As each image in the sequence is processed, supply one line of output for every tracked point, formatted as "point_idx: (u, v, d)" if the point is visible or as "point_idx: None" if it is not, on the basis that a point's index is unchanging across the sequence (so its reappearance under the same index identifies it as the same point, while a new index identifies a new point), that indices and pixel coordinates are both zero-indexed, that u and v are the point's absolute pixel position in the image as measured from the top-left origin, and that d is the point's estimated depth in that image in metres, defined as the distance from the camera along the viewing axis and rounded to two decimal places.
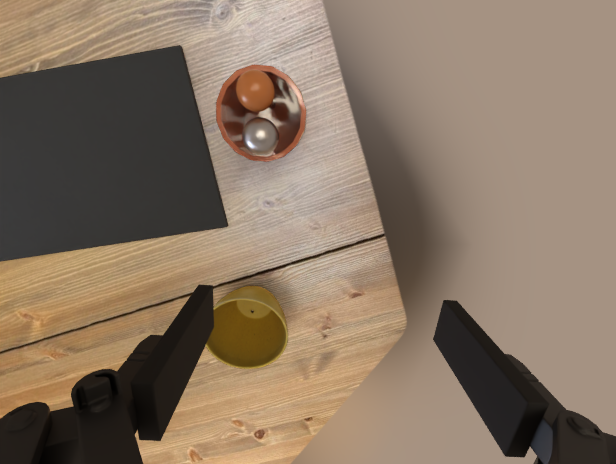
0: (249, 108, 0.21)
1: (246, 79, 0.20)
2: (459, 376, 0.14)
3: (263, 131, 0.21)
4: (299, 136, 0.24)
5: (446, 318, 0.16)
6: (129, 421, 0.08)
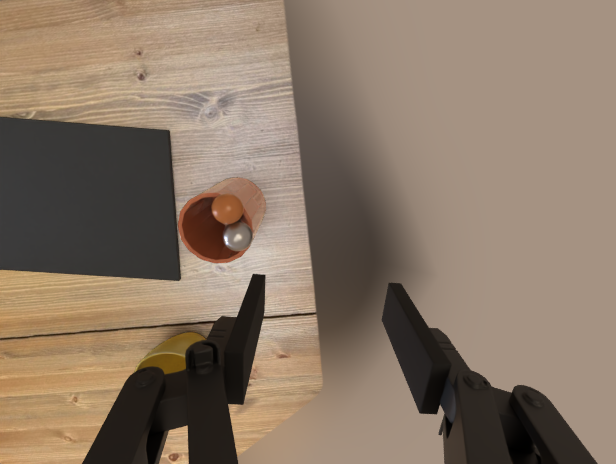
0: (220, 221, 0.26)
1: (222, 203, 0.25)
2: (395, 349, 0.16)
3: (243, 235, 0.26)
4: (244, 250, 0.29)
5: (389, 299, 0.17)
6: (224, 389, 0.10)
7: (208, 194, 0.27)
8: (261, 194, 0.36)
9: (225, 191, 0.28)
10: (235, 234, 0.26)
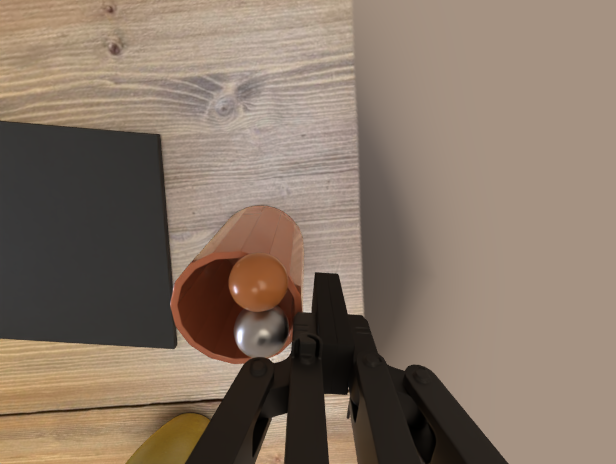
0: None
1: (251, 277, 0.12)
2: None
3: (273, 336, 0.14)
4: (285, 345, 0.17)
5: None
6: (322, 383, 0.10)
7: (226, 254, 0.15)
8: (299, 231, 0.24)
9: (254, 244, 0.16)
10: (257, 334, 0.13)
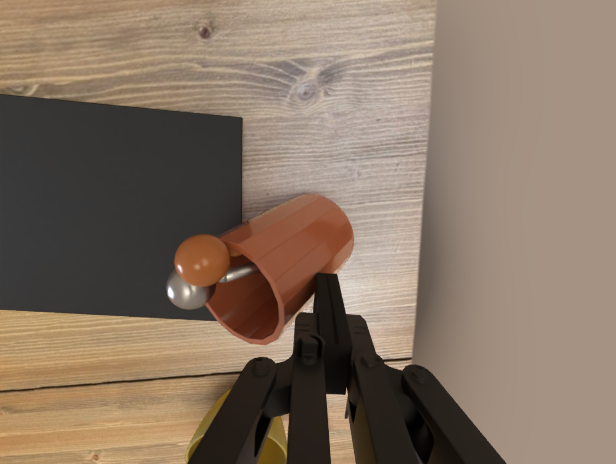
0: None
1: (180, 253, 0.14)
2: None
3: (175, 291, 0.16)
4: (269, 341, 0.17)
5: None
6: (324, 383, 0.10)
7: (227, 243, 0.16)
8: (347, 232, 0.22)
9: (260, 240, 0.16)
10: (169, 283, 0.16)
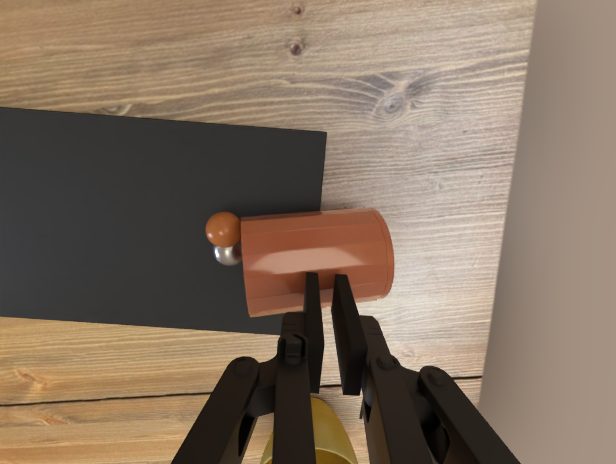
0: None
1: (209, 224, 0.21)
2: (335, 337, 0.16)
3: None
4: (249, 313, 0.20)
5: (335, 289, 0.18)
6: (308, 382, 0.10)
7: (241, 220, 0.20)
8: (381, 252, 0.19)
9: (260, 224, 0.19)
10: None
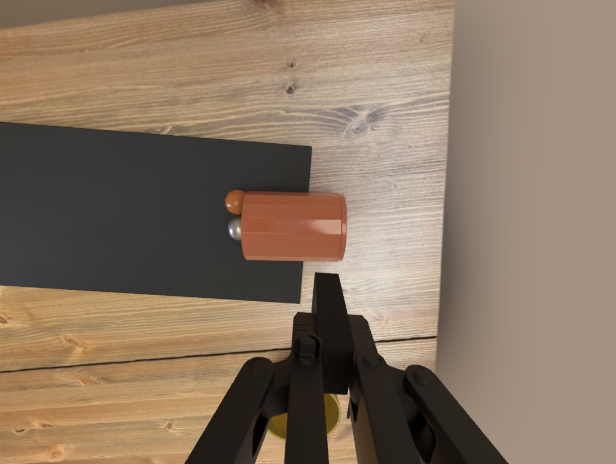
0: None
1: (228, 194, 0.32)
2: None
3: (228, 225, 0.33)
4: None
5: None
6: (322, 383, 0.10)
7: None
8: (337, 213, 0.28)
9: (259, 192, 0.30)
10: None
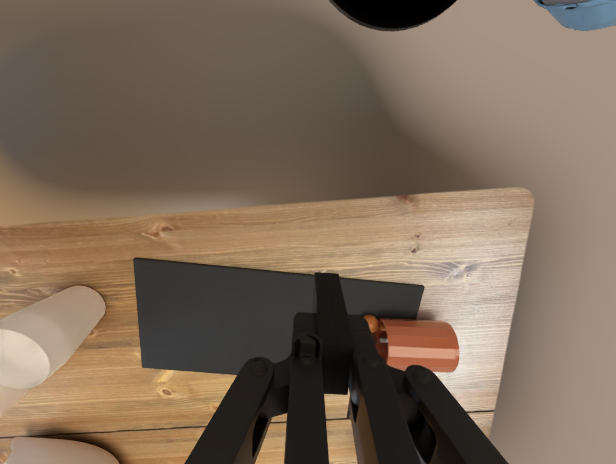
0: None
1: None
2: None
3: None
4: None
5: None
6: (322, 383, 0.10)
7: (381, 319, 0.44)
8: (452, 343, 0.40)
9: (393, 322, 0.42)
10: None
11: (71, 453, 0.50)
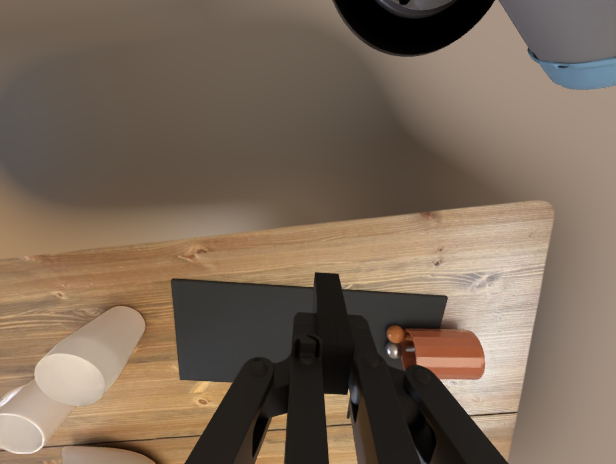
0: None
1: (391, 330, 0.46)
2: None
3: (386, 347, 0.48)
4: None
5: None
6: (322, 383, 0.10)
7: (407, 330, 0.46)
8: (477, 352, 0.42)
9: (419, 333, 0.44)
10: None
11: (117, 460, 0.53)
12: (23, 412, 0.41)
